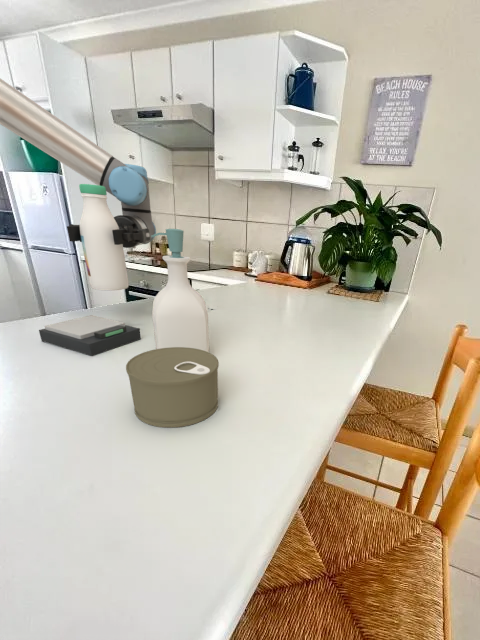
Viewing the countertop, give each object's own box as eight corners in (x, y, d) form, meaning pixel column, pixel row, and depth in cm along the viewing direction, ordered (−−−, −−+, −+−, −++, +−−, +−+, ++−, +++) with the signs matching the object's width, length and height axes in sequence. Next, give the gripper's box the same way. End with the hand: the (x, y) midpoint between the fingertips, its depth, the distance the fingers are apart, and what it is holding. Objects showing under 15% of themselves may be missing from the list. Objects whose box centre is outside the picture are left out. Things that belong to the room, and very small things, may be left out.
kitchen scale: (41, 341, 65) (37, 325, 63) (94, 327, 75) (91, 312, 73) (91, 356, 60) (88, 339, 59) (141, 338, 70) (139, 323, 69)
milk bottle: (136, 287, 76) (122, 188, 66) (113, 293, 69) (93, 183, 60) (108, 283, 77) (90, 185, 68) (82, 288, 70) (59, 181, 61)
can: (172, 380, 54) (169, 341, 51) (234, 397, 51) (234, 357, 47) (113, 413, 44) (104, 367, 41) (184, 438, 40) (180, 390, 37)
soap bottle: (158, 346, 67) (145, 225, 57) (205, 345, 70) (201, 229, 60) (157, 365, 59) (141, 227, 49) (210, 362, 62) (206, 232, 52)
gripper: (170, 249, 88) (149, 259, 67) (89, 243, 84) (41, 252, 64) (168, 218, 84) (144, 219, 64) (83, 211, 81) (31, 209, 61)
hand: (93, 235), depth 64 cm, fingers closed on milk bottle, 8 cm apart
